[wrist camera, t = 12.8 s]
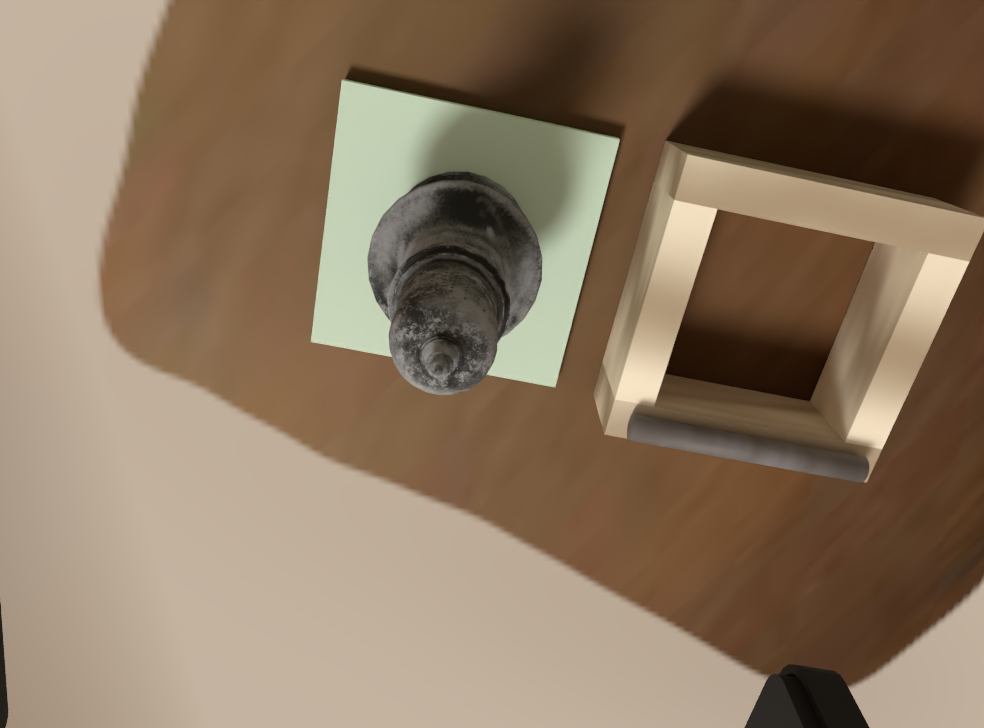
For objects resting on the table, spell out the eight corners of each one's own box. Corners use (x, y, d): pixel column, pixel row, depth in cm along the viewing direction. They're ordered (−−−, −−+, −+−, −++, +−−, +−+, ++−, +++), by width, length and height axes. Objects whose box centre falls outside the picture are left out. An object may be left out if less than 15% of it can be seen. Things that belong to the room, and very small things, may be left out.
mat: (344, 79, 27) (341, 80, 27) (617, 137, 28) (619, 139, 27) (314, 336, 31) (310, 341, 31) (554, 381, 32) (555, 387, 31)
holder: (665, 140, 28) (695, 159, 24) (934, 198, 29) (1007, 226, 25) (593, 394, 32) (608, 447, 28) (830, 438, 33) (878, 496, 29)
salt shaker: (421, 337, 30) (379, 510, 19) (354, 199, 28) (266, 307, 17) (559, 282, 30) (598, 432, 19) (502, 136, 27) (507, 208, 16)
